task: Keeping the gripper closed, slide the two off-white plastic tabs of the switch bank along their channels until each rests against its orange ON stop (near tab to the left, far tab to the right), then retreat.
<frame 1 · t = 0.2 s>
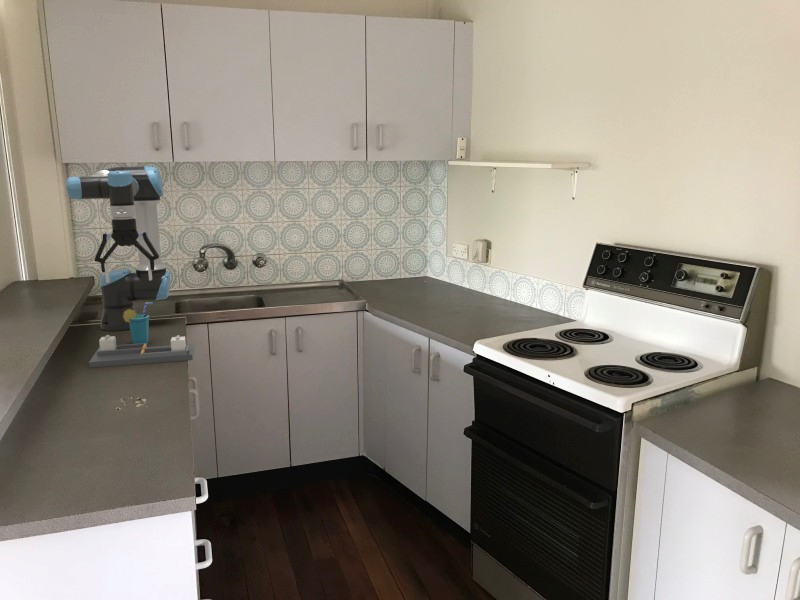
hand: (129, 280, 228), 28 cm above the table, fingers open, 13 cm apart
switch bank: (144, 357, 235), on the table
tab A: (108, 344, 234), point 5 cm above the table, slide at 0.0 cm
cup: (142, 343, 253), on the table
tab B: (178, 344, 233), point 5 cm above the table, slide at 0.0 cm
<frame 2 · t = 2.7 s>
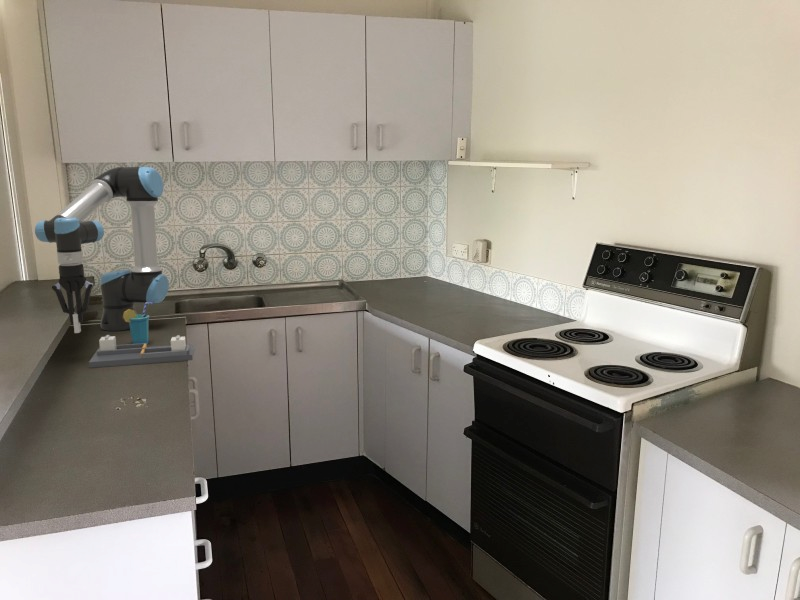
hand: (77, 331, 231), 10 cm above the table, fingers closed
nothing on the table moved.
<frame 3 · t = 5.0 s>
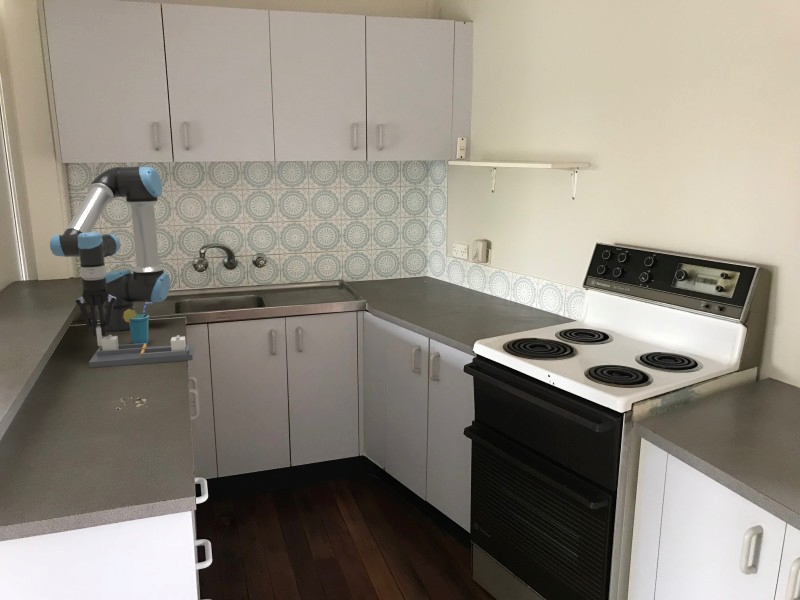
hand: (100, 344, 234), 5 cm above the table, fingers closed
tab A: (110, 344, 234), point 5 cm above the table, slide at 0.7 cm, touching gripper
everything else where it was.
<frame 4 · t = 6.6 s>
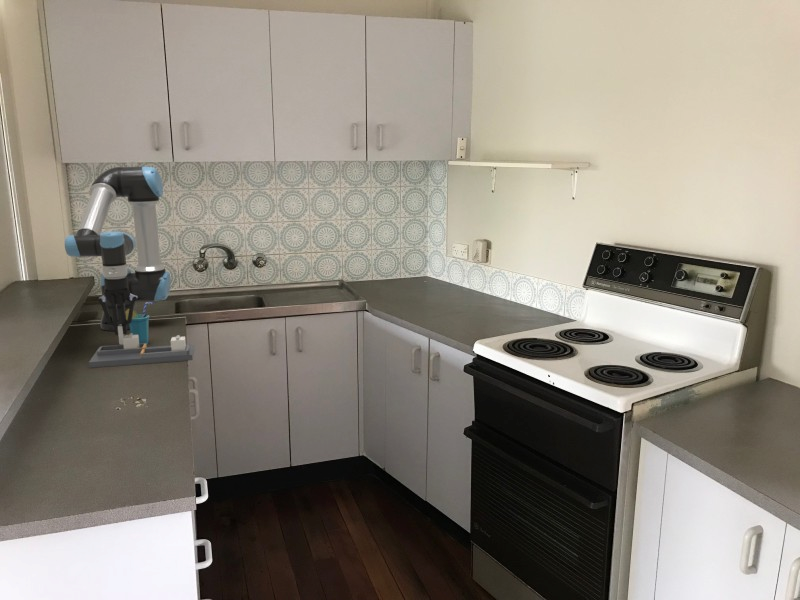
hand: (122, 343, 235), 5 cm above the table, fingers closed
tab A: (131, 342, 236), point 5 cm above the table, slide at 7.6 cm, touching gripper
everything else where it was.
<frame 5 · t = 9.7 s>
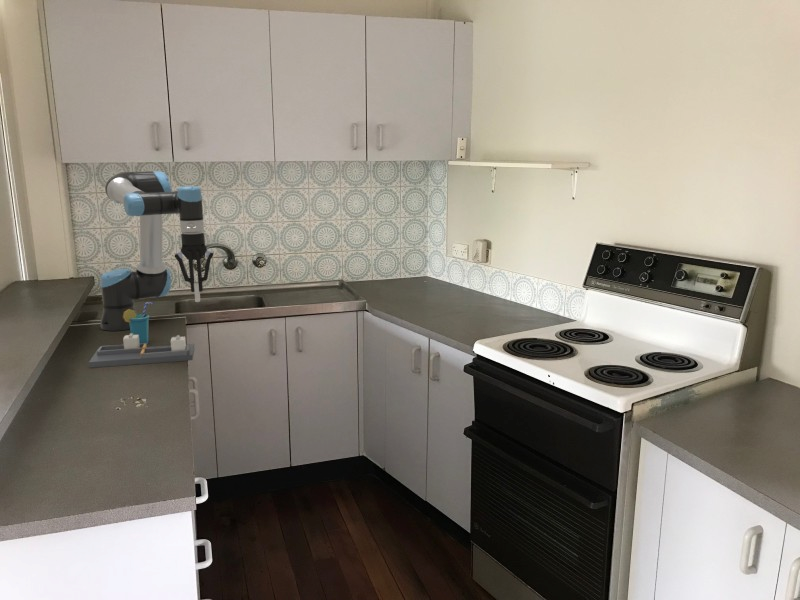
hand: (197, 300, 232), 20 cm above the table, fingers closed
tab A: (131, 342, 236), point 5 cm above the table, slide at 7.7 cm
everything else where it was.
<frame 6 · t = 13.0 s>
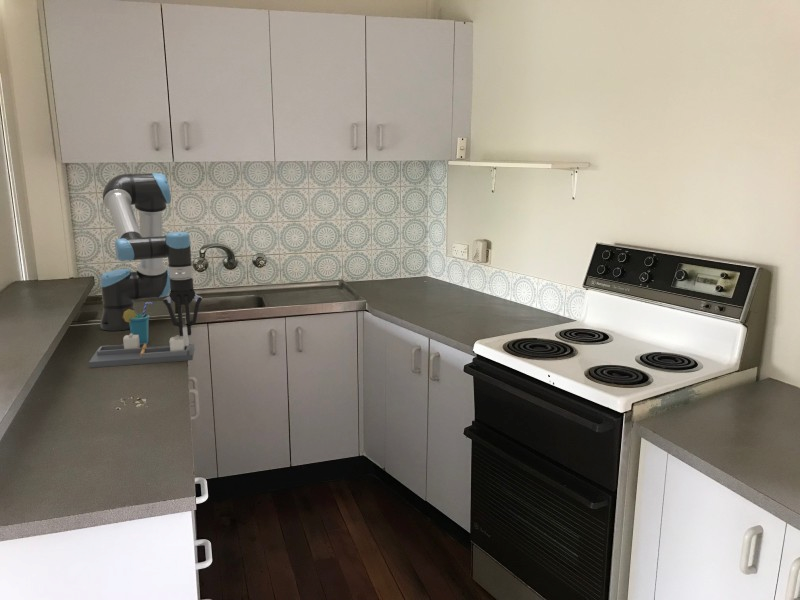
hand: (186, 344, 234), 5 cm above the table, fingers closed
tab B: (177, 344, 233), point 5 cm above the table, slide at 0.4 cm, touching gripper
everything else where it was.
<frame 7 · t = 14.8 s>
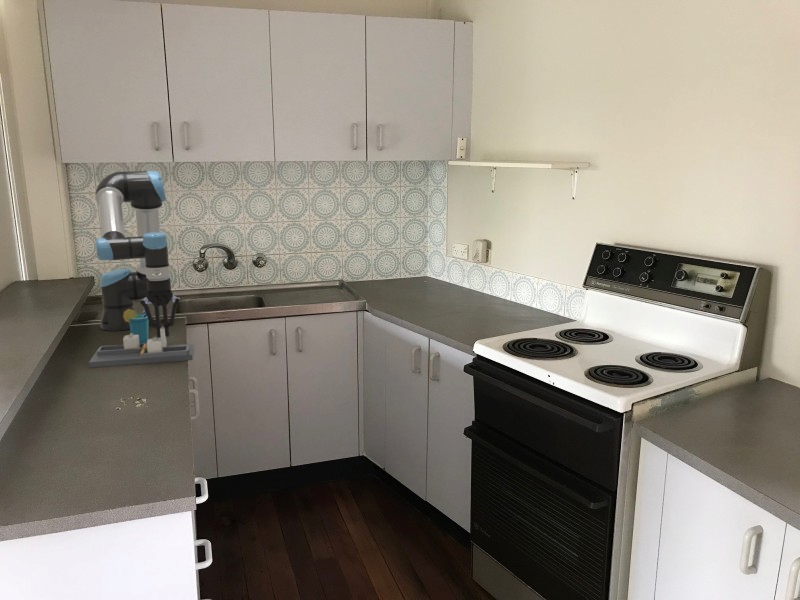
hand: (164, 345, 232), 5 cm above the table, fingers closed
tab B: (155, 346, 231), point 5 cm above the table, slide at 7.7 cm, touching gripper
everything else where it was.
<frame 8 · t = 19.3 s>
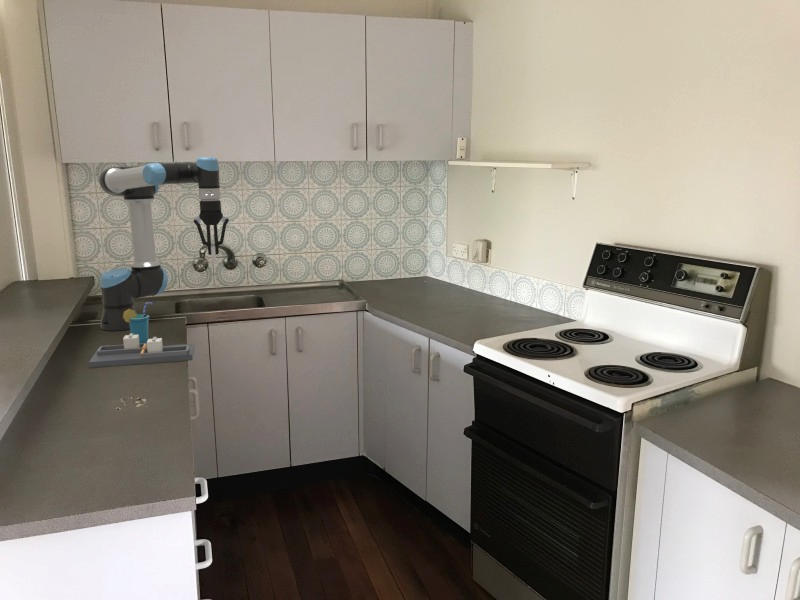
hand: (214, 263, 252), 29 cm above the table, fingers closed
tab B: (155, 346, 231), point 5 cm above the table, slide at 7.7 cm
everything else where it was.
at the end: tab A slide at 7.7 cm; tab B slide at 7.7 cm; tab A touching nothing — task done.
